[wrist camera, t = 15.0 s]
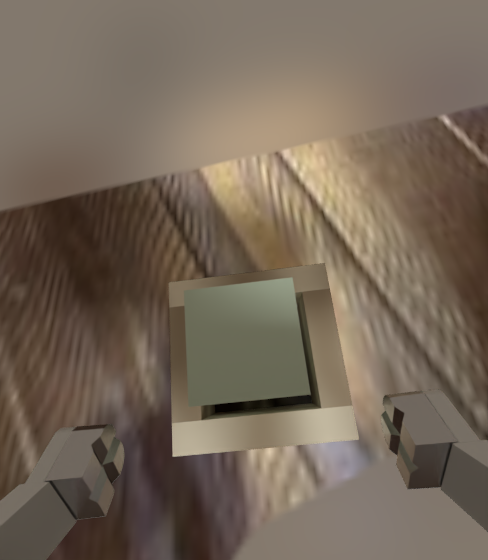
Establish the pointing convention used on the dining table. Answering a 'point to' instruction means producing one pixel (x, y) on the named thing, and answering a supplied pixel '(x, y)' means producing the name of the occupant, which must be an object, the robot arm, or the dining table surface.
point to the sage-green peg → (244, 343)
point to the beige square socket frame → (272, 420)
